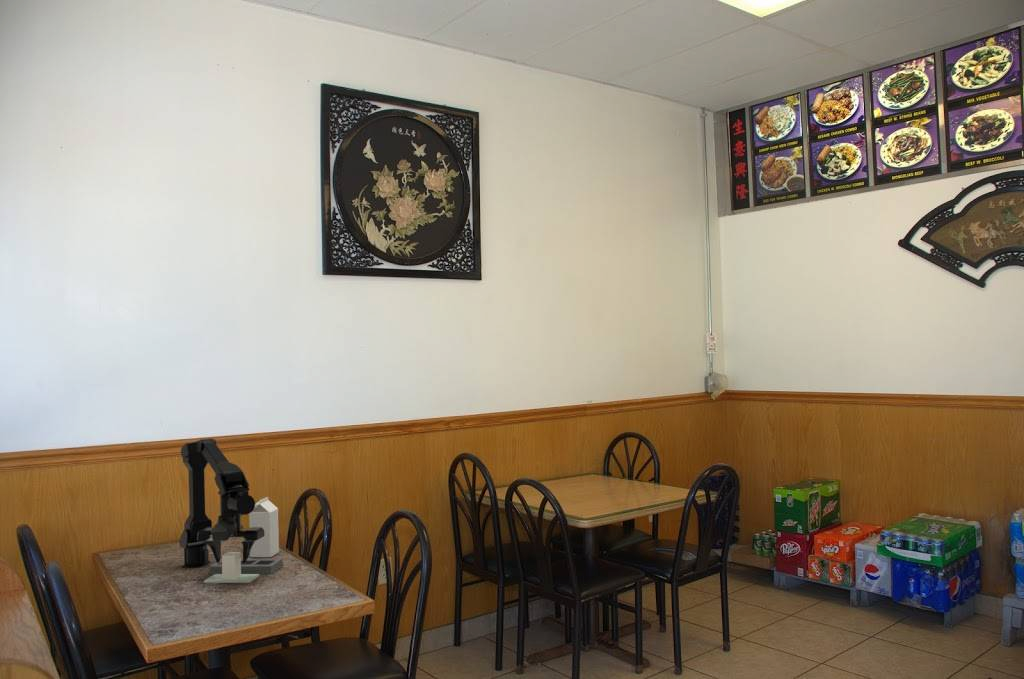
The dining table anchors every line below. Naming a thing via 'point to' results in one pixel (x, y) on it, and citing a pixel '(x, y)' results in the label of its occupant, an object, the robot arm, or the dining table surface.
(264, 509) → the milk carton
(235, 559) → the plug
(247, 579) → the mat
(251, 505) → the robot arm
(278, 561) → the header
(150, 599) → the dining table surface
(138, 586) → the dining table surface
